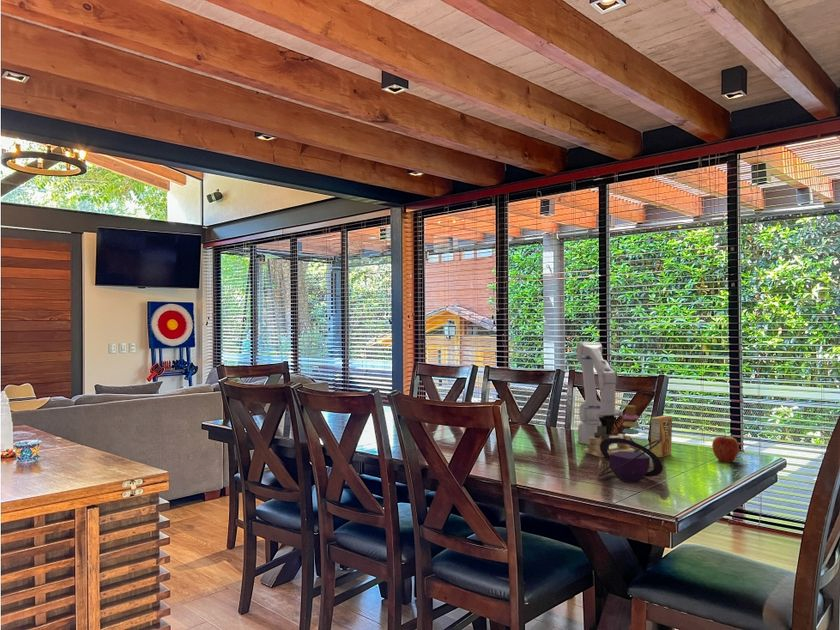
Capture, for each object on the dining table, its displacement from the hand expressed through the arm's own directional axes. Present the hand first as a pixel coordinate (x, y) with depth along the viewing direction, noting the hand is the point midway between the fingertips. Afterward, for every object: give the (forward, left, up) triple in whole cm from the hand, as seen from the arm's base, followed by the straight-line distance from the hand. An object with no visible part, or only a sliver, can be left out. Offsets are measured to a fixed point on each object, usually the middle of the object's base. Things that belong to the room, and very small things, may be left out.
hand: (607, 434), depth 251 cm
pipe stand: (0, +1, -7) cm, 7 cm away
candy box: (+13, +16, -8) cm, 22 cm away
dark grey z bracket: (0, -3, -5) cm, 6 cm away
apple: (+31, +30, -8) cm, 44 cm away
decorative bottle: (+36, -26, -8) cm, 45 cm away
